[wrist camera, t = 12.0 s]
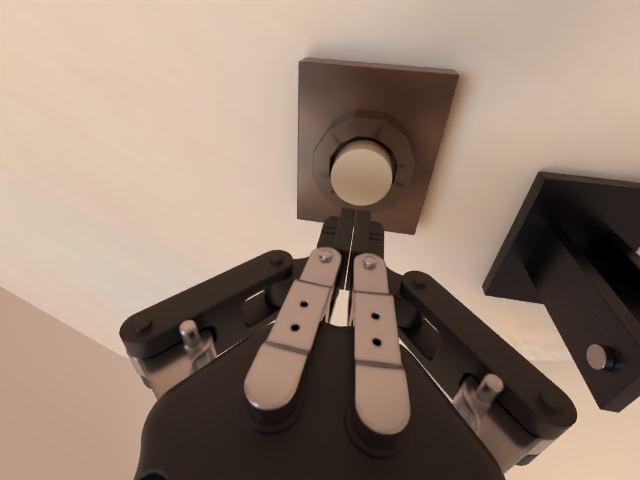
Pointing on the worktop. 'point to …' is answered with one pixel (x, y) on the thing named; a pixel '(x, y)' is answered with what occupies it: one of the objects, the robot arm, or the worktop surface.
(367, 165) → the button
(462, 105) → the worktop surface
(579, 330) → the bracket
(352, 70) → the button block
